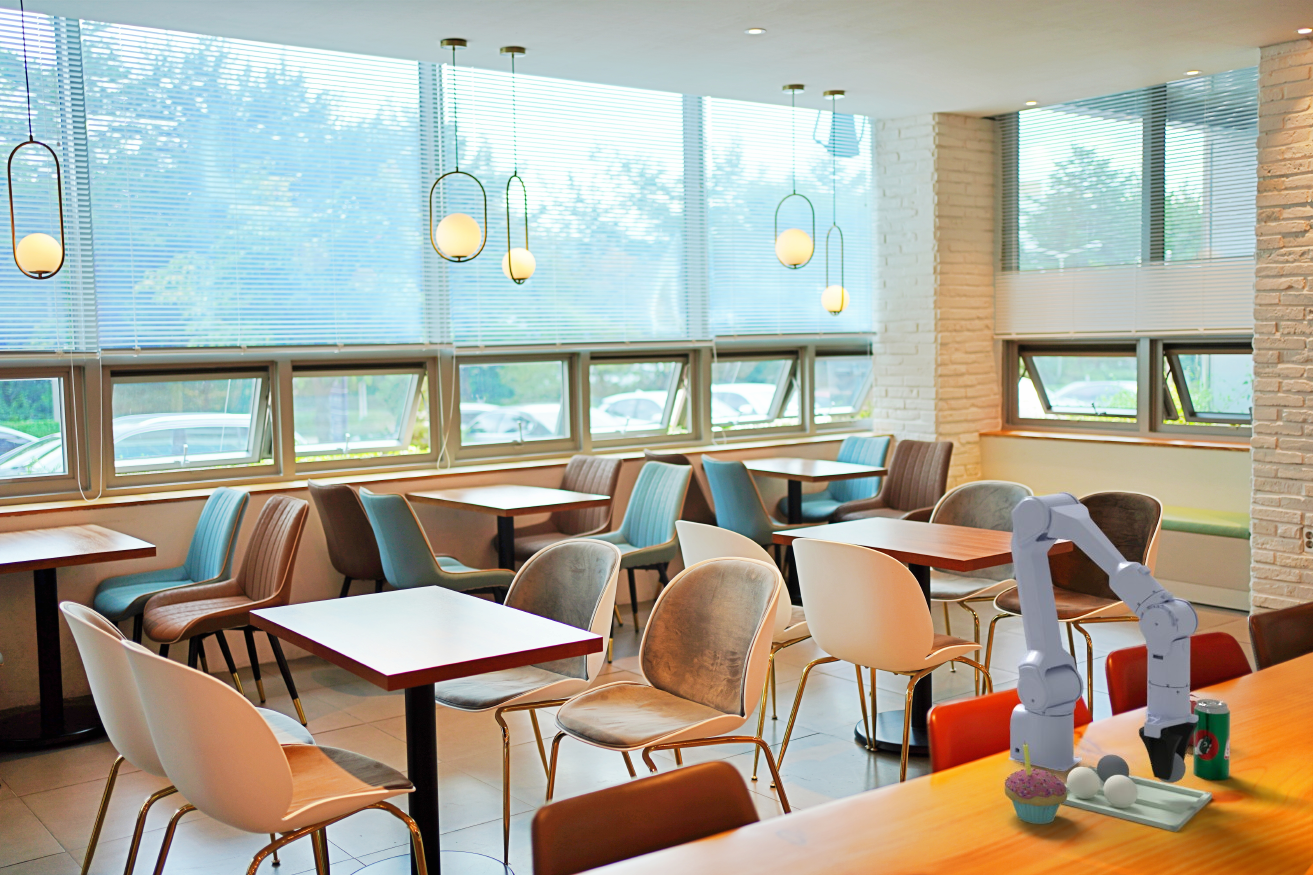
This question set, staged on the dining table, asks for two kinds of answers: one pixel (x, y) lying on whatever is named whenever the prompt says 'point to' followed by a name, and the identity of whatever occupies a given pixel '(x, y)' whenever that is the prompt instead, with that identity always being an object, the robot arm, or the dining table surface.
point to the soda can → (1212, 740)
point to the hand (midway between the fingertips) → (1168, 773)
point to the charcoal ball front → (1176, 770)
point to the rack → (1148, 803)
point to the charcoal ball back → (1112, 767)
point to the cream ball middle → (1120, 791)
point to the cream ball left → (1083, 782)
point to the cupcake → (1035, 793)
